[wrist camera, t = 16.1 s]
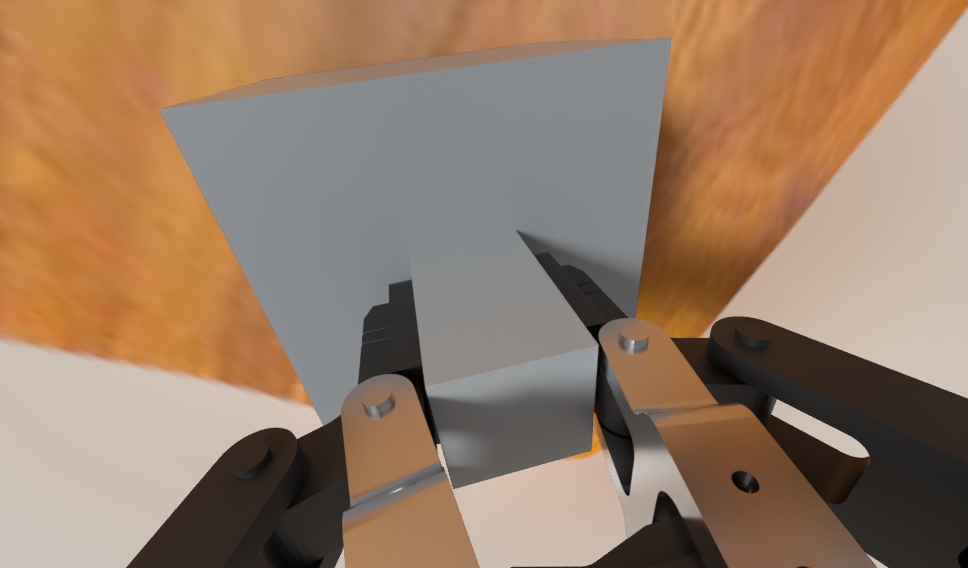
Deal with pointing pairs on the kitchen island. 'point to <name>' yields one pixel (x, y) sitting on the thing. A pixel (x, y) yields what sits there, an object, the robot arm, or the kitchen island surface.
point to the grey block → (444, 223)
